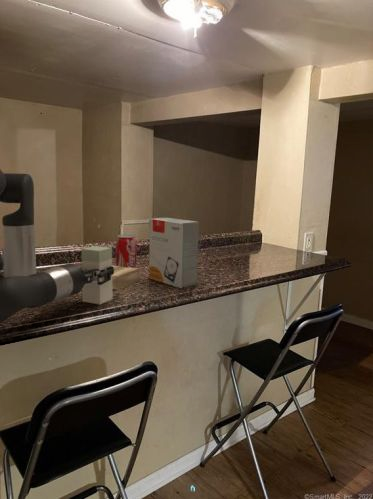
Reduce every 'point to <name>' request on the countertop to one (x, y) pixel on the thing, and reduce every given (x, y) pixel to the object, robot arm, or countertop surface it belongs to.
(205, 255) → the countertop surface
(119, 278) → the podium
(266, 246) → the countertop surface
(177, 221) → the hard drive box
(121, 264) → the soda can
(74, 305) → the countertop surface
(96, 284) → the carton
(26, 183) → the robot arm
